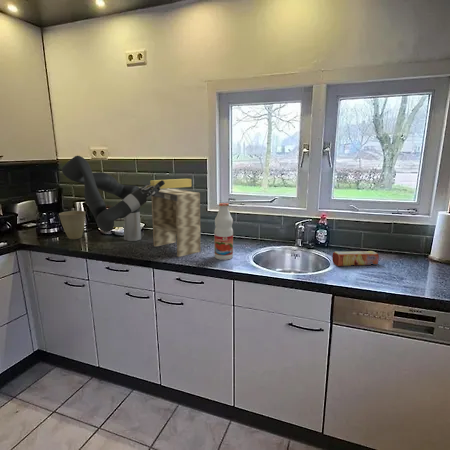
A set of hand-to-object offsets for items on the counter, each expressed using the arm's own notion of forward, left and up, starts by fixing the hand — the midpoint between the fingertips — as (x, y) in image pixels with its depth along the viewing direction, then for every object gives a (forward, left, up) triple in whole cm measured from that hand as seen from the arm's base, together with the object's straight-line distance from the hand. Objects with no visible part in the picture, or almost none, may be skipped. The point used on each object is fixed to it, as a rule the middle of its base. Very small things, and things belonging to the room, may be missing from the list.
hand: (161, 181), depth 157 cm
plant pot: (-68, +18, -38) cm, 80 cm away
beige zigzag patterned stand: (+2, +12, -38) cm, 40 cm away
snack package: (+96, +10, -39) cm, 104 cm away
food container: (-46, +38, -38) cm, 71 cm away
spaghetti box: (+4, +5, -3) cm, 7 cm away
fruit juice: (+31, +4, -38) cm, 50 cm away
